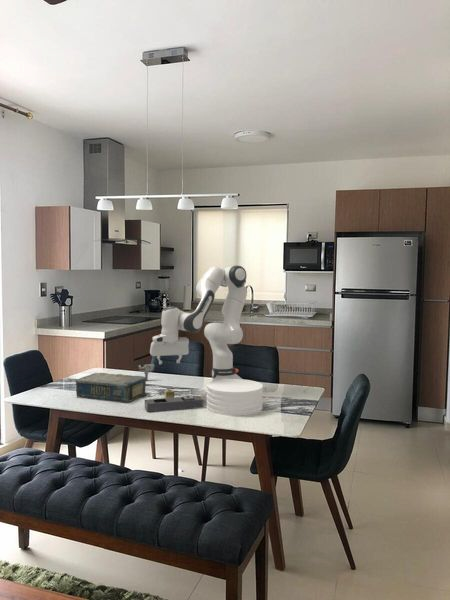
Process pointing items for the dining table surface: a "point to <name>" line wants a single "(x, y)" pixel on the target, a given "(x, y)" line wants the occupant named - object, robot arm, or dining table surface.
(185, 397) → the grey knobbed square block
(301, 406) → the dining table surface
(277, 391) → the dining table surface
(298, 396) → the dining table surface
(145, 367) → the mechanical component
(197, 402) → the rail
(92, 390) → the metal box
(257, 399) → the plate stack
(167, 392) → the wooden cube with knob
